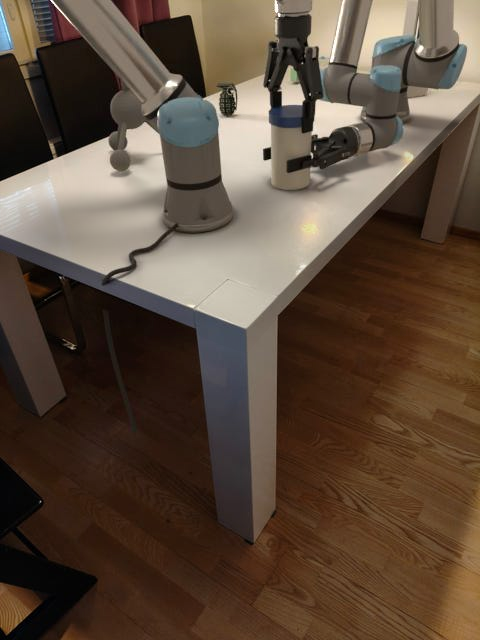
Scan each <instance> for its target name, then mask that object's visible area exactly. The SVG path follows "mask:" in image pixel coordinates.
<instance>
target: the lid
mask: <svg viewBox="0 0 480 640" xmlns="http://www.w3.org/2000/svg"><path fill="white" fill-rule="evenodd" d="M315 116H316V115H315ZM315 116H314V118H313V123H314V122H315V118H316V117H315ZM268 123H269V125H270V126H271V125H274V126H277V127H284V128H295V127H302V104H285V105H283V104H282V106H278V107H274V108H272V109H271V108H270V109H269V110H268Z"/></svg>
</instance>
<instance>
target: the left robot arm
mask: <svg viewBox="0 0 480 640" xmlns="http://www.w3.org/2000/svg"><path fill="white" fill-rule="evenodd" d="M50 1H51V2H52V4H54V6H55V7H56V8H57V9H58V10H59V11H60V13H62V15H63V16H64V17H65V18H66V19H67V20H68V22H69V23H70V24H71V25H72V26H73V27H74V28H75V30H76V31H77V32H78V33H79V34H80V35H81V37H82V38H83V39H84V40H85V41H86V42H87V43H88V44H89V46H91V48H92V49H93V50H94V51H95V52H96V54H98V56H99V57H100V58H101V59H102V60H103V61H104V62H105V63H106V65H108V67H109V68H110V69H111V70H112V72H114V73H115V75H116V76H117V77H118V78H119V79H120V81H121V80H122V81H123V82H124V84H125V85H126V86H127V87H128V90H131V92H132V93H133V94H134V95H135V96H136V97H137V98H138V99H139V101H140V102H141V104H142V115H143V116H144V117H145V118H146V119H147V120H148V121H149V122H150V124H151V125H152V126H153V127H154V128H155V129H156V130H157V131H158V133H159V134H160V135H159V134H158V133H157V134H158V135H159V139H160V145H161V153H162V159H163V168H164V174H165V180H166V190H165V191H166V192H165V196H164V203H163V207H162V218H163V222H164V224H165V226H167V227H168V228H169V229H168V230H166V231H165V232H164V233H163V234H161V236H160V237H159V238H158V239H157V240H156V241H155V242H154V243H152V244H151V245H148V246H145V247H140V248H136V249H134V250H131V251H130V252H129V254H128V259H129V260H130V262H131V264H130V265H128V266H124V267H120V268H116V269H114V270H111V271H110V272H108V273H107V274H106V275H105V277H104V278H103V280H102V282H101V285H100V286H106V285H107V284H108V282H109V280H110V279H111V278H113V277H114V276H117V275H119V274H122V273H126V272H130V271H132V270H133V269H135V268H136V267H137V264H138V263H137V260H136V258H135V257H134V256H135V255H137V254H142V253H147V252H151V251H152V250H154V249H156V248H157V247H158V246H159V245H161V243H163V241H164V240H165V239H166V238H167V237H168V236H169V235H171V233H173V232H174V231H177V232H180V233H190V234H191V233H192V234H193V233H194V234H195V233H196V234H197V233H205V232H206V233H207V232H210V231H215V230H216V229H220V228H222V227H224V226H226V225H227V224H228V223H230V221H231V220H232V218H233V216H234V212H233V211H234V210H233V205H232V201H231V200H230V197H229V195H228V192H227V190H226V187H225V184H224V182H223V175H222V174H223V173H222V164H221V163H222V161H221V147H220V134H219V127H220V122H219V120H220V119H219V117H218V114H217V109H216V106H215V105H214V104H213V103H212V102H211V101H209V100H207V99H204V98H203V97H202V96H201V95H199V94H198V93H197V92H195V91H194V89H193V88H192V87H191V85H190V84H189V83H188V82H187V81H186V79H185V78H184V77H183V75H181V74H175V73H171V72H170V71H169V69H167V68H166V66H165V65H164V64H163V63H162V61H161V60H160V59H159V57H158V56H157V55H156V54H155V53H154V51H153V50H152V49H151V48H150V46H149V45H148V44H147V43H146V41H145V40H144V39H143V38H142V37H141V35H140V34H139V33H138V32H137V31H136V30H135V28H134V27H133V25H132V24H131V23H130V21H128V19H127V18H126V17H125V16H124V15H123V13H122V12H121V11H120V9H119V8H118V7H117V6H116V5H115V3H114V2H113V0H50ZM312 10H313V0H274V12H275V13H276V14H277V15H275V17H274V36H275V37H276V38H277V39H276V40H271V41H268V43H267V45H268V46H267V59H266V60H267V61H266V66H265V72H264V77H263V83H262V85H263V89H267V91H268V92H269V106H270V109H272V108H274V107H278V106H283V91H281V90H282V89H283V88H282V87H281V86H282V84H283V81H284V78H285V75H286V73H287V71H288V67H289V66H290V67H292V68H293V69H294V70H295V71H296V72H297V75H298V78H299V82H298V83H299V84H300V87H301V91H302V94H303V97H304V100H303V101H301V102H302V104H301V105H302V133H303V134H304V133H308V132H311V131H312V132H313V131H314V122H313V118H314V119H315V117H314V116H316V103H317V101H318V100H319V99H322V98H323V88H322V81H321V74H320V67H319V60H318V58H320V57H319V56H320V55H319V54H320V47H319V46H318V45H315V46H311V45H309V42H308V38H309V36H310V35H311V34H312V21H313V20H312V15H311V11H312ZM301 63H303V64H301ZM316 93H317V94H316ZM319 101H320V100H319ZM102 312H103V313H102V314H103V321H104V322H103V323H104V328H105V335H106V339H107V345H108V349H109V353H110V358H111V361H112V366H113V369H114V372H115V375H116V379H117V383H118V386H119V388H120V389H119V390H120V393H121V395H122V397H123V402H124V405H125V408H126V411H127V415H128V419H129V422H130V426H131V430H132V432H133V435H134V436H136V435H138V430H137V425H136V423H135V419H134V415H133V411H132V407H131V404H130V401H129V397H128V395H127V392H126V388H125V385H124V381H123V378H122V374H121V371H120V367H119V363H118V360H117V356H116V351H115V347H114V342H113V337H112V331H111V325H110V316H109V310H106V309H102Z"/></svg>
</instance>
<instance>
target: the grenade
mask: <svg viewBox="0 0 480 640" xmlns="http://www.w3.org/2000/svg"><path fill="white" fill-rule="evenodd" d="M215 87H217V88H219V89H221V93H219V97H218V101H219V102H218V106H219V108H218V109H219V112H220V114H221V115H222V116H224V117H231V116H233V115H234V113H235V112H236V111H237V108H238V89H237V87H236V85H235V84H234V83H233V82H218V83H217V84H216V86H215ZM232 91H233V92H232ZM234 94H235V96H234Z"/></svg>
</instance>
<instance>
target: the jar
mask: <svg viewBox="0 0 480 640" xmlns="http://www.w3.org/2000/svg"><path fill="white" fill-rule="evenodd" d="M312 133H313V131H311V132H308V133H304V134H303V133H302V127H295V128H284V127H277V126H274V125H271V124H270V147H271V159H270V170H271V171H270V175H271V177H270V178H271V179H270V180H271V182H270V183H271V185H272V186H273V187H274V188H276V189H279V190H284V191H295V190H296V191H297V190H302V189H304V188H306V187H308V186H309V185H310V183H311V167H310V168H306V169H302V170H299V171H295V172H291V173H287V172H286V171H287V161H288V160H292V159H295V158H299V157H303V156H307V155H312V153H311V137H312V135H313V134H312Z"/></svg>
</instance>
